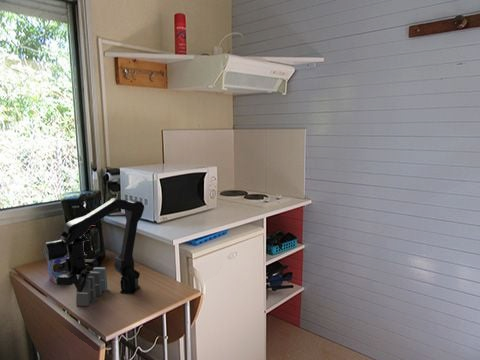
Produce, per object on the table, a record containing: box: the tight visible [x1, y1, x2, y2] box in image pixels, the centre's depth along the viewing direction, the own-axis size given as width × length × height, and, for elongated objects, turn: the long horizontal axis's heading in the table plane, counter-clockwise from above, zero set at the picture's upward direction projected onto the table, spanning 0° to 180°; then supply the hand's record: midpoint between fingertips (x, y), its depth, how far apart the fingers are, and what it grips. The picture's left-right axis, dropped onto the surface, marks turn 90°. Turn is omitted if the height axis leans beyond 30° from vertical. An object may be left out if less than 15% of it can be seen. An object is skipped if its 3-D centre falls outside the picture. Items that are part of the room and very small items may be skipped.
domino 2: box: [89, 271, 103, 297], centre depth 147 cm, size 5×2×10 cm, turn 82°
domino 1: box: [75, 279, 91, 307], centre depth 139 cm, size 5×2×10 cm, turn 82°
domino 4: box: [92, 266, 108, 292], centre depth 151 cm, size 5×2×10 cm, turn 82°
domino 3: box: [87, 276, 97, 302], centre depth 143 cm, size 5×2×10 cm, turn 82°
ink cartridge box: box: [46, 255, 70, 284], centre depth 161 cm, size 10×6×14 cm, turn 50°
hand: (80, 291), depth 137 cm, fingers closed
